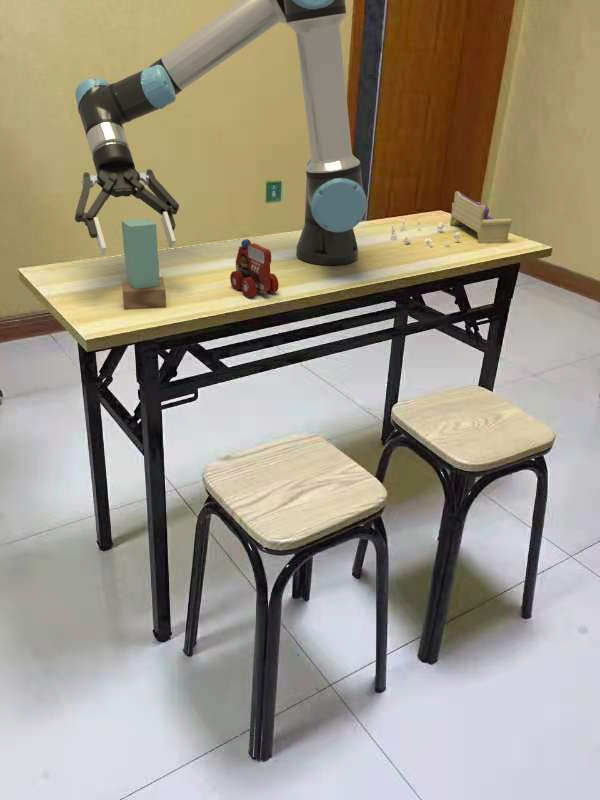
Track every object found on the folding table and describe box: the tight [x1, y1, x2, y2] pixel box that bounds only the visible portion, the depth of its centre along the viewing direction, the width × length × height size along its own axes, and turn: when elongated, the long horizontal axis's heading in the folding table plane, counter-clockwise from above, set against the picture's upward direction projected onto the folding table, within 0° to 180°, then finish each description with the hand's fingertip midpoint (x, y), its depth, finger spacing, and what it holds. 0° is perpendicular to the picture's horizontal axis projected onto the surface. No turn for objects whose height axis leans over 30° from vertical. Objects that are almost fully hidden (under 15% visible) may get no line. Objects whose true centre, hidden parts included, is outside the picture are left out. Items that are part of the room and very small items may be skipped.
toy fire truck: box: [230, 239, 280, 298], centre depth 143 cm, size 7×12×10 cm, turn 33°
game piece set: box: [390, 219, 461, 249], centre depth 187 cm, size 19×20×4 cm
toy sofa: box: [449, 190, 513, 244], centre depth 192 cm, size 21×9×10 cm, turn 13°
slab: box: [121, 276, 167, 311], centre depth 136 cm, size 8×8×4 cm
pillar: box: [121, 218, 160, 289], centre depth 132 cm, size 5×5×12 cm
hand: (138, 248), depth 132 cm, fingers open, 13 cm apart
